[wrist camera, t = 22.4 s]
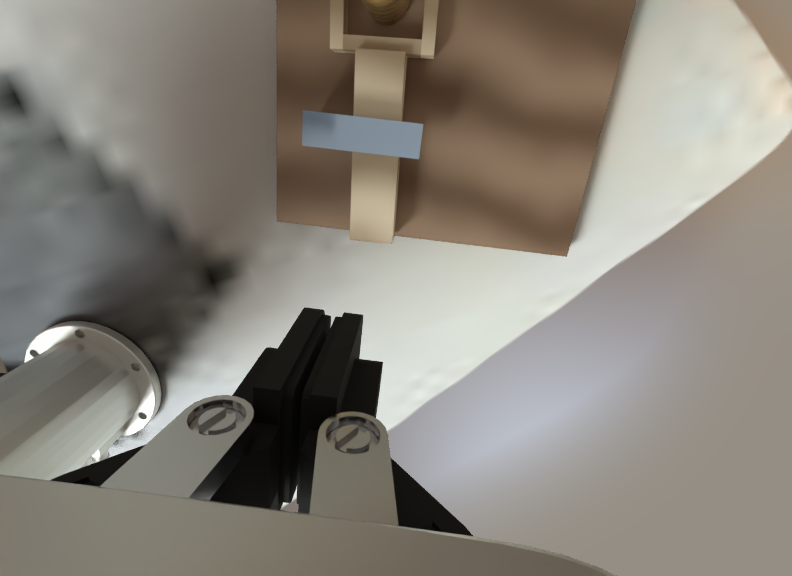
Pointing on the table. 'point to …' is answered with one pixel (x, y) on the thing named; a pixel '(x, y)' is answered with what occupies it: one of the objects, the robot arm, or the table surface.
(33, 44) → the table surface
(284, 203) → the base plate
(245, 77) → the table surface
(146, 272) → the table surface
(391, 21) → the pin
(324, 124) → the bracket
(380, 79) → the link
